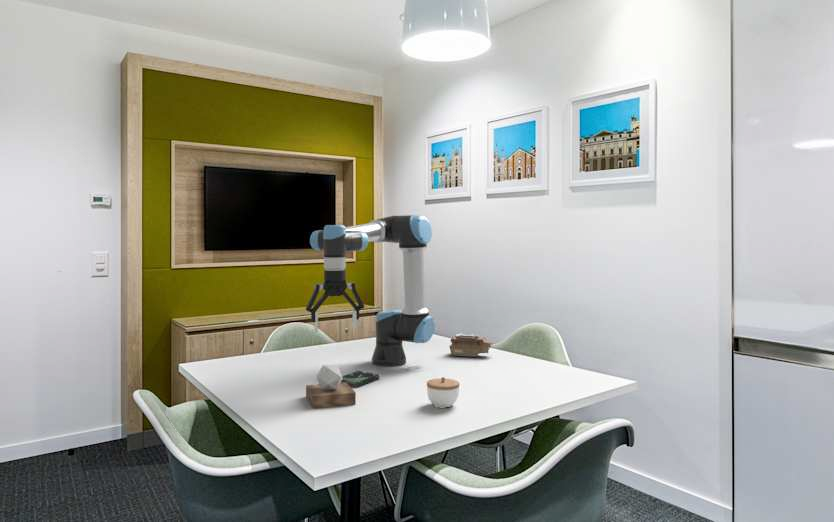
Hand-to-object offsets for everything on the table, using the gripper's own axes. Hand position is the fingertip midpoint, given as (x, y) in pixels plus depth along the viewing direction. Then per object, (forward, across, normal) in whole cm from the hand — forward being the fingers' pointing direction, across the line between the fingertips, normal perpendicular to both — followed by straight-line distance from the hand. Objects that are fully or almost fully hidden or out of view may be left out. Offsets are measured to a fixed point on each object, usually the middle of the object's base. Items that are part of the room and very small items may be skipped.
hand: (335, 330), depth 196 cm
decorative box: (+25, -75, -44) cm, 90 cm away
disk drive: (+24, -12, -14) cm, 30 cm away
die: (+19, +4, +7) cm, 20 cm away
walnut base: (+22, +4, +7) cm, 24 cm away
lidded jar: (+23, -30, +25) cm, 45 cm away
